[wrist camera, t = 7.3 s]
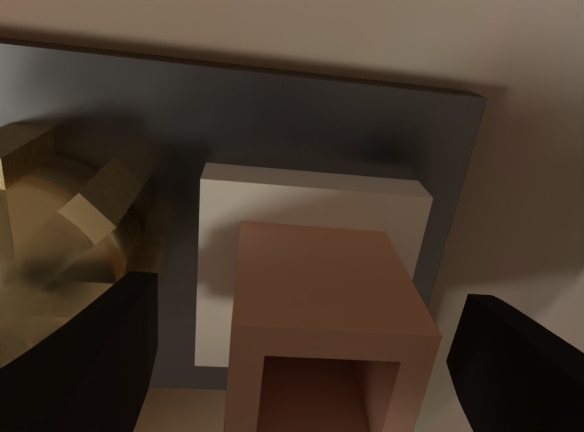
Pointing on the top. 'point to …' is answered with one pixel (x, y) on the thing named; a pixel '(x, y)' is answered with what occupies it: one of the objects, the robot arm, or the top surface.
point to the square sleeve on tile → (313, 299)
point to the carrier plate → (184, 173)
